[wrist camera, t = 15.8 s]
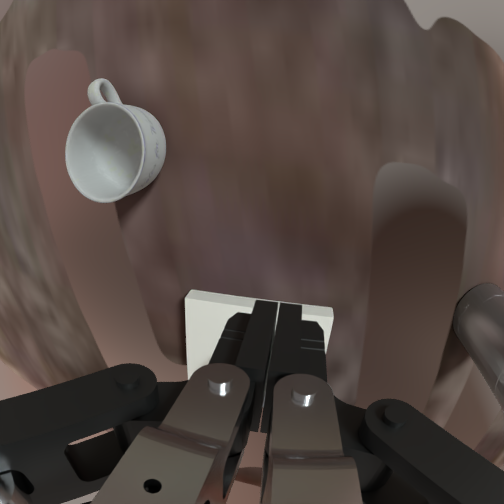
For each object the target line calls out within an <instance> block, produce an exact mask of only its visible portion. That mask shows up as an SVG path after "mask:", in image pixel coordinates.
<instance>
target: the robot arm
mask: <svg viewBox="0 0 504 504" xmlns="http://www.w3.org/2000/svg"><path fill="white" fill-rule="evenodd" d="M277 310H278V302H273V301H265V300H256V301H255V304H254V307H253V310H252V313H251V314H249V313H242V312H237V313H236V314H234V315H233V316H232V317H230V318H229V319H228V320H227V323H226V325H225V327H224V330H223V332H222V334H221V337H220V339H219V341H218V343H217V345H216V348H215V350H214V352H213V354H212V357H211V359H210V361H209V363H208V365H204V366H202V367H200V368H198V369H197V370H196V371H195V372H194V373H193V374H192V376H191V377H190V379H189V380H187V381H182V382H157V379H156V376H155V374H154V373H153V372H152V371H151V370H150V369H149V368H147V367H145V366H142V365H139V364H131V363H129V364H120V365H117V366H114V367H111V368H108V369H105V370H102V371H99V372H95V373H92V374H89V375H86V376H83V377H80V378H77V379H74V380H70V381H67V382H64V383H61V384H57V385H54V386H51V387H47V388H44V389H41V390H38V391H34V392H31V393H27V394H23V395H19V396H16V397H12V398H8V399H5V400H1V401H0V504H61V503H64V502H67V501H70V500H73V499H76V498H79V497H82V496H85V495H87V494H90V493H93V492H96V491H98V490H99V492H98V493H97V495H96V496H95V498H94V499H93V500H92V501H90V502H86V503H82V504H226V502H227V499H228V496H229V493H230V491H231V488H232V485H233V483H234V480H235V477H236V474H237V471H238V468H239V465H240V462H241V459H242V456H243V453H244V448H245V446H246V444H247V441H248V436H249V432H250V431H254V432H258V428H259V423H260V418H261V413H262V408H263V402H264V408H263V416H262V423H261V432H262V433H267V437H266V443H265V449H264V455H263V466H262V479H261V493H260V504H504V471H503V470H501V469H500V468H498V467H497V466H495V465H494V464H492V463H491V462H489V461H488V460H487V459H485V458H484V457H482V456H481V455H479V454H478V453H477V452H475V451H474V450H472V449H471V448H469V447H468V446H467V445H465V444H463V443H462V442H461V441H459V440H458V439H457V438H455V437H454V436H452V435H451V434H450V433H448V432H447V431H445V430H444V429H443V428H441V427H440V426H438V425H437V424H436V423H434V422H433V421H432V420H430V419H429V418H427V417H426V416H425V415H423V414H422V413H420V412H419V411H418V410H416V409H415V408H414V407H412V406H411V405H409V404H407V403H405V402H403V401H400V400H396V399H381V400H378V401H376V402H374V403H372V404H371V405H370V406H369V407H368V408H367V410H366V409H362V408H359V407H355V406H352V405H349V404H346V403H344V402H342V401H341V400H339V399H338V398H336V397H335V396H334V394H333V391H332V389H331V387H330V386H329V384H328V383H327V372H326V355H325V343H324V330H323V329H322V328H321V326H320V325H319V324H318V322H317V321H309V320H302V305H300V304H291V303H282V302H280V306H279V312H278V318H277ZM276 319H277V324H276ZM275 327H276V330H275ZM453 328H454V331H455V333H456V335H457V337H458V338H459V340H460V341H461V343H462V344H463V346H464V347H465V349H466V350H467V352H468V353H469V355H470V357H471V358H472V360H473V361H474V363H475V364H476V366H477V368H478V369H479V370H480V372H481V374H482V376H483V377H484V379H485V381H486V382H487V384H488V386H489V387H490V389H491V391H492V392H493V394H494V396H495V398H496V399H497V401H498V403H499V404H500V406H501V408H502V410H503V412H504V292H503V291H502V290H501V289H500V288H499V287H498V286H496V285H494V284H490V283H486V284H481V285H478V286H476V287H474V288H473V289H471V290H470V291H469V292H468V293H467V294H466V295H465V296H464V297H463V298H462V299H461V301H460V302H459V304H458V306H457V308H456V310H455V313H454V317H453ZM265 392H266V393H265ZM264 397H265V401H264ZM112 427H113V429H114V430H113V431H111V432H108V433H105V434H103V435H100V436H97V437H94V438H92V439H89V440H86V441H83V442H80V443H78V444H74V445H68V444H69V443H71V442H73V441H76V440H79V439H82V438H85V437H88V436H91V435H93V434H96V433H99V432H101V431H104V430H107V429H110V428H112Z"/></svg>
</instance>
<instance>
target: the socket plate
mask: <svg viewBox="0 0 504 504" xmlns="http://www.w3.org/2000/svg"><path fill="white" fill-rule="evenodd" d="M256 300H263V299H255V298H248V297H240V296H233V295H226V294H219V293H212V292H205V291H198V290H192V289H191V291H190V292H189V293H188V294H187V296H186V297H185V321H186V349H187V370H188V380H189V379H190V377H191V376H192V374H193V373H194V372H195V371H196V370H197V369H198V368H200V367H202V366H204V365H208V363H209V361H210V359H211V357H212V354H213V352H214V350H215V348H216V345H217V343H218V341H219V339H220V337H221V334H222V332H223V330H224V327H225V325H226V323H227V320H228V319H229V318H230V317H232V316H233V315H234V314H236V313H237V312H242V313H249V314H251V313H252V310H253V307H254V304H255V301H256ZM265 301H271V300H265ZM273 302H278V310H277V318H278V312H279V306H280V302H279V301H273ZM282 303H287V302H282ZM291 304H295V303H291ZM300 305H302V320H309V321H317V322H318V324H319V325H320V326H321V328H322V329H323V330H324V343H325V354H326V350H327V346H328V341H329V337H330V332H331V328H332V323H333V318H334V316H333V309H332V308H331V307H322V306H313V305H304V304H300ZM276 324H277V319H276ZM275 330H276V327H275Z"/></svg>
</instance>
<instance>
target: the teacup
mask: <svg viewBox="0 0 504 504" xmlns="http://www.w3.org/2000/svg"><path fill="white" fill-rule="evenodd" d="M100 90H101V91H102V92H103V93H104V95H105V97H106V98H107V100H108V102H105V101H104V99H103V98H102V96H101V94H100ZM88 98H89V101H90V103H91V105H92V106H91V107H89V108H88V109H86V110H85V111H84V112H83V113H82V114H81V115H80V116H79V117H78V118H77V119H76V120H75V122H74V124H73V125H72V127H71V129H70V132H69V135H68V138H67V142H66V153H65V159H66V166H67V171H68V174H69V176H70V178H71V180H72V182H73V184H74V185H75V187H76V188H77V190H78V191H79V192H80V193H81V194H82V195H84V196H85V197H86V198H88V199H90V200H93V201H95V202H100V203H110V202H115V201H117V200H120V199H122V198H123V197H125V196H128V195H130V194H133V193H135V192H137V191H139V190H141V189H143V188H145V187H146V186H148V185H149V184H150V183H151V182H152V181H153V180H154V179H155V178H156V177H157V175H158V174H159V172H160V170H161V168H162V166H163V163H164V160H165V155H166V141H165V136H164V132H163V130H162V128H161V125H160V124H159V122H158V121H157V120H156V118H155V117H154V116H153V115H151V114H150V113H149V112H147V111H145V110H143V109H141V108H138V107H135V106H130V105H123V104H122V103H121V101H120V99H119V96H118V94H117V92H116V90H115V89H114V87H113V85H112V84H111V83H110V82H109V81H108V80H106V79H97V80H95V81H94V82H92V83H91V84H90V85H89V87H88Z"/></svg>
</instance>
